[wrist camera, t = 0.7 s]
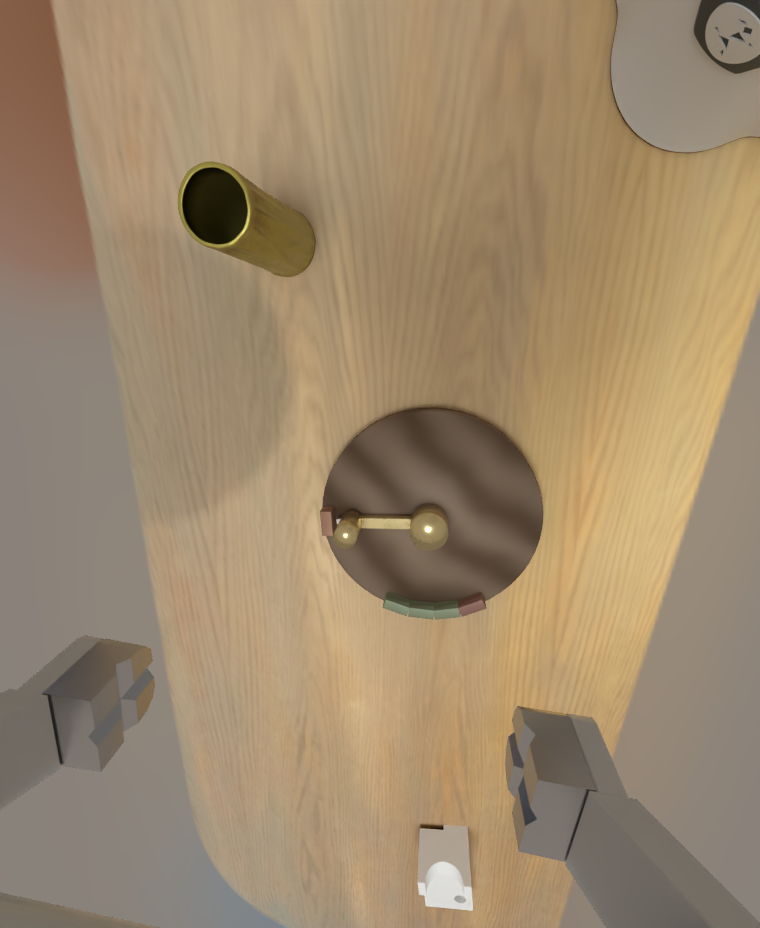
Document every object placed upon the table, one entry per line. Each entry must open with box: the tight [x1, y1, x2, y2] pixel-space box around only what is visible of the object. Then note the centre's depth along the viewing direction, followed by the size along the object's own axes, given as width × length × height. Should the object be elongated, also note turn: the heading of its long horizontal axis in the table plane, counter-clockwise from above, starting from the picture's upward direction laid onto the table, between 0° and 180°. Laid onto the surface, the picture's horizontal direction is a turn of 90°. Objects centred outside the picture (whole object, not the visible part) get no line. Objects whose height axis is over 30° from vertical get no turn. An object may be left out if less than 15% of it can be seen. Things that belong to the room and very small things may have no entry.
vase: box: [178, 162, 315, 277], centre depth 36 cm, size 6×6×14 cm
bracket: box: [418, 825, 473, 911], centre depth 63 cm, size 13×7×8 cm, turn 6°
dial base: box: [320, 408, 543, 620], centre depth 47 cm, size 24×24×4 cm
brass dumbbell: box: [333, 504, 448, 551], centre depth 45 cm, size 12×4×4 cm, turn 93°
